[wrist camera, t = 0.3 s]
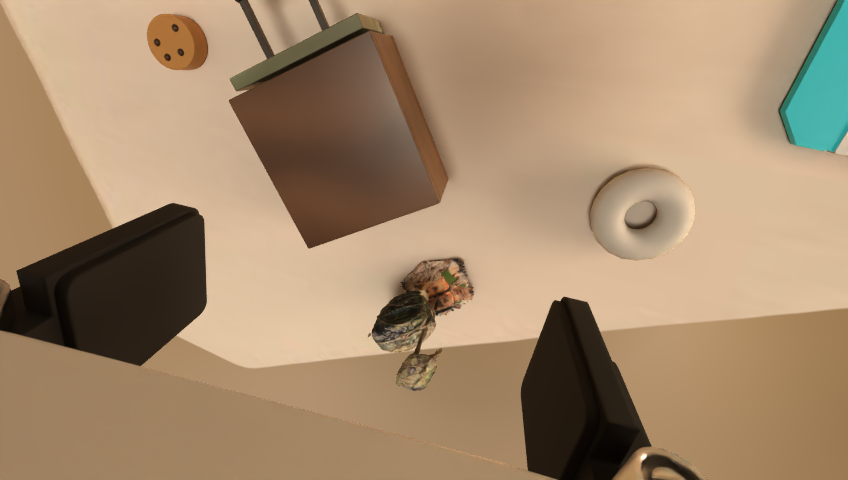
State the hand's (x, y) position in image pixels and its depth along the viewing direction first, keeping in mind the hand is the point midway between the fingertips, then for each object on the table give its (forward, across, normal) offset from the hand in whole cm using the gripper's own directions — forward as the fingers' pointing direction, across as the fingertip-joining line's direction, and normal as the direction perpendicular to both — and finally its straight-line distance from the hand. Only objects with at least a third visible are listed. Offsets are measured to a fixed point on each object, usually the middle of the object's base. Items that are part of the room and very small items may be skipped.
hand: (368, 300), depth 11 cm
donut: (+36, -21, +5) cm, 42 cm away
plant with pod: (+36, -1, +20) cm, 42 cm away
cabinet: (+36, +10, +4) cm, 38 cm away
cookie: (+36, +31, -2) cm, 47 cm away
